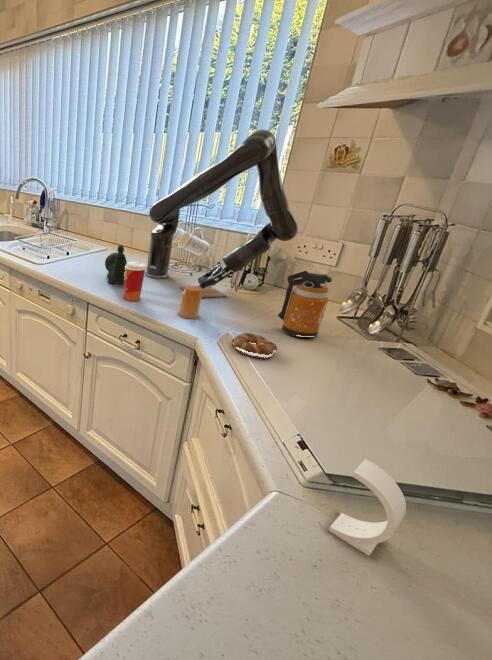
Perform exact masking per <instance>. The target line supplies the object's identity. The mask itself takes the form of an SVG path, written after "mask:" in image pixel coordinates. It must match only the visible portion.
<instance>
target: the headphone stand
mask: <svg viewBox="0 0 492 660" xmlns="http://www.w3.org/2000/svg"><path fill="white" fill-rule="evenodd" d="M351 477H352V478H353V479H356V480H357V481H359V483H361V484H363V485H364V486H366V488H368V489H369V490H370V491H371V492H372V493H373V494H374V495H375V496H376V497H377V498H378V500H379V501H380V503H381V505H382V506H383V508H384V511H385V513H386V520H385V521H379V522H372V521H371V522H370V521H365V520H360V519H356V518H354V517H351V516H350V515H348V514H346V513H344V512H341V513H340V514H339V515H338V517H336V518H335V520H334V521H333V522H332V524H331V525H330V526H329V527H328V532H330V533H332V534H333V535H334V536H336V537H338V538H340V539H341V540H342V541H344V542H346V543H347V544H349V545H350V546H352V547H354V548H355V549H357V550H358V551H360V552H362V553H364V555H366V556H368V557H370V556H371V554H372V553H373V551H374V550H375V548H376V547H377V545H378V544H380V543H384V542H386V541H388V540H389V539H390V538H391V537H392V536H393V534H394V532H395V531H396V530H397V528H398V527H399V526H400V523H401V522H402V521H403V519H404V517H405V515H406V511H407V503H406V499H405V496H404V493H403V491H402V490H401V488H400V486H399V485H398V483H396V481H395V480H394V479H393V478H392V477H391V476H390V474H389V473H388V472H386V471H385V470H383V469H382V468H381V467H380V466H379V465H376V464H375V463H374V462H372V461H370V460H368V459H367V458H364V460H362V462H361V463H360V464H359V465H358V467H356V469H354V471H353V472H352V474H351Z"/></svg>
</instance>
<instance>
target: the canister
mask: <svg viewBox="0 0 492 660" xmlns="http://www.w3.org/2000/svg"><path fill="white" fill-rule="evenodd" d="M332 280H333V279H332V277H331V276H328V274H325V273H324V274H323V273H322V274H320V273H314V272H308V271H307V270H303V271H300V272H297V273H294V274H291V275H288V276H287V283H288V286H287V288H286V292H285V297H284V300H283V305H282V308H281V311H280V312H278V314H277V317H278V318H280V319H281V320H282V321H283V323H282V326H281V330H282V331H283V333H284V332H285V334H288V335H289V336H292V337H294V336H296V335H301V336H315V337H311V338H310V339H314V338H317V337H318V334H319V330H320V327H321V325H322V322H323V318H324V315H325V312H326V309H327V306H328V302H329V297H328V294H329V289H328V287H327V286H326V285H325V284H326V283H331V282H332ZM294 287H295V289H294V291H293V288H294Z"/></svg>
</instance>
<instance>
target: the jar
mask: <svg viewBox="0 0 492 660" xmlns="http://www.w3.org/2000/svg"><path fill="white" fill-rule="evenodd" d="M196 286H197V285H186V286H184V287H185V290H182V294H181V300H180V305H179V311H178V316H180V317H182V318H184V319H188V320H192V319H193V320H195V319H197V318H198V317H199V311H200V308H201V301H202V298H201V297H202V293H201V288H199V287H196Z"/></svg>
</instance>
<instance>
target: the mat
mask: <svg viewBox="0 0 492 660" xmlns="http://www.w3.org/2000/svg"><path fill="white" fill-rule="evenodd" d="M195 286H196V287H199V288H201V287H200V285H195ZM185 287H186V286H180V289H181V290H182V291H184V290H185ZM201 293H202V297H201V299H213V298H214V299H215V298H227V295H226V294H224V293H222V292H221V291H220V290H217V289H216V288H214V287H212V286H207V287H206V288H204V289H202V288H201Z"/></svg>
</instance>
